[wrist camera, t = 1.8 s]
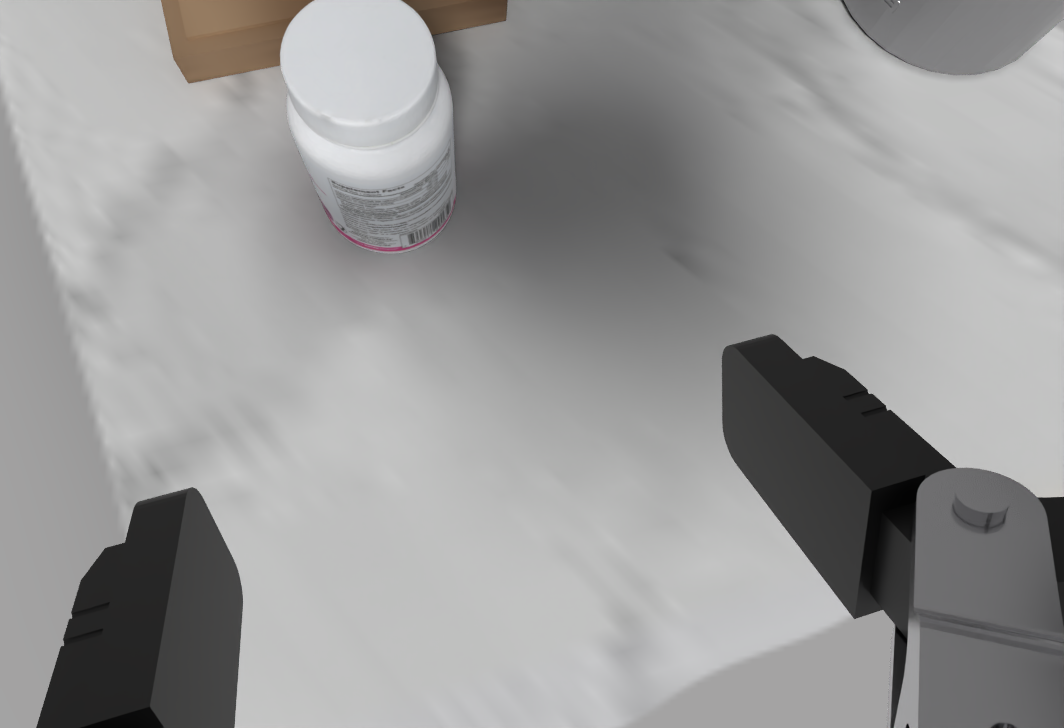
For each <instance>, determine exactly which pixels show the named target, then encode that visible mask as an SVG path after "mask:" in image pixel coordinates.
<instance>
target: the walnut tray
mask: <svg viewBox="0 0 1064 728" xmlns="http://www.w3.org/2000/svg"><path fill="white" fill-rule="evenodd" d="M312 1H314V0H161V2H162V7H163V12H164V16H165V21H166V26H167V30H168V35H169V40H170V44H171V49H172V54H173V58H174V60H175V62H176V63H177V65H178V67H179V68H180V70H181V72H182V74H183V75H184V77H185V79H186V80H187V82H188V83H193V82H198V81H203V80H208V79H213V78H218V77H223V76H228V75H233V74H239V73H244V72H249V71H254V70H259V69H264V68H269V67H274V66H279V65H280V49H281V43H282V40H283V37H284V34H285V32H286V29H287V27H288V26H289V24H290V22H291V21H292V20H293V18H294V17H295V16H296V15H297V14H298V13H299V12H300V11H301V10H302V9H303V8H304V7H305V6H307V5H308V4H309V3H311V2H312ZM402 1H403V2H405V3H406V4H407V5H409V6H410V7H411V8H413V9H414V10H415V11H416V12H417V13H418V14H419V16H420V17H421V18H422V19H423V21H424V22H425V24H426V25H427V27H428V29H429V31H430V33H431V35H435V34H440V33H445V32H450V31H455V30H460V29H465V28H470V27H476V26H481V25H486V24H491V23H496V22H501V21H506V13H507V0H402Z"/></svg>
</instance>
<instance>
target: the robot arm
mask: <svg viewBox="0 0 1064 728" xmlns="http://www.w3.org/2000/svg"><path fill="white" fill-rule="evenodd" d="M844 2H845V4H846V6H847V8H848V10H849V11H850V13H851V15H852V17H853V18H854V19H855V20H856V22H857V23H858V24H859V25H860V26H861V28H862V29H863V30H864V31H865V33H866V34H867V35H868V36H869V37H871V38H872V39H873V40H874V41H875V42H877V43H878V44H879V45H880V46H881V47H882V48H884V49H885V50H886V51H888V52H890V53H891V54H893V55H895V56H897V57H898V58H900V59H902V60H903V61H905V62H907V63H909V64H912V65H915V66H918V67H920V68H923V69H926V70H929V71H933V72H939V73H945V74H950V75H975V74H981V73H985V72H989V71H993V70H997V69H1000V68H1002V67H1004V66H1006V65H1008V64H1010V63H1012V62H1014V61H1016V60H1017V59H1018V58H1019V57H1021V56H1022V55H1023V54H1024V53H1025V52H1026V51H1028V50H1029V49H1030V48H1031V47H1032V46H1033V45H1034V44H1036V43H1037V42H1038V41H1039V40H1040V39H1041V38H1042V37H1044V36H1045V35H1046V34H1047V33H1048V32H1049V31H1050V30H1052V29H1053V28H1054V27H1055V26H1056V25H1057V24H1058V23H1059V22H1061V21H1062V20H1064V0H844ZM722 421H723V432H724V437H725V441H726V444H727V447H728V450H729V452H730V454H731V456H732V458H733V460H734V462H735V463H736V464H737V466H738V467H739V468H740V470H741V471H742V472H743V474H744V475H745V476H746V478H747V479H748V480H749V482H750V483H751V484H752V485H753V487H754V488H755V489H756V491H757V492H758V493H759V495H760V496H761V497H762V499H763V500H764V501H765V502H766V504H767V505H768V506H769V508H770V509H771V510H772V512H773V513H774V514H775V516H776V517H777V518H778V520H779V521H780V522H781V523H782V525H783V526H784V527H785V529H786V530H787V531H788V533H789V534H790V535H791V537H792V538H793V539H794V541H795V542H796V543H797V544H798V546H799V547H800V548H801V550H802V551H803V552H804V554H805V555H806V556H807V558H808V559H809V560H810V561H811V563H812V564H813V565H814V567H815V568H816V569H817V571H818V572H819V573H820V575H821V576H822V577H823V579H824V580H825V581H826V582H827V584H828V585H829V586H830V588H831V589H832V590H833V592H834V593H835V594H836V596H837V597H838V598H839V599H840V601H841V602H842V603H843V605H844V606H845V607H846V609H847V610H848V611H849V613H850V614H851V615H852V617H853V618H854V619H856V618H859V617H862V616H865V615H868V614H871V613H874V612H877V611H880V610H884V611H885V613H886V614H887V615H888V616H889V618H890V619H891V620H892V621H893V622H894V627H893V633H892V638H891V639H892V640H891V658H890V677H889V678H890V679H889V697H888V716H887V728H1064V497H1050V498H1037V497H1036V496H1035V495H1034V494H1033V493H1032V492H1031V491H1030V490H1028V489H1027V488H1026V487H1024V486H1023V485H1021V484H1020V483H1018V482H1016V481H1014V480H1012V479H1010V478H1008V477H1006V476H1003V475H1001V474H998V473H994V472H991V471H987V470H981V469H974V468H956V467H955V466H954V465H952V464H951V463H950V462H949V461H948V460H947V459H946V458H945V457H943V456H942V455H941V454H940V453H939V452H938V451H937V450H935V449H934V448H933V447H932V446H931V445H930V444H929V443H928V442H926V441H925V440H924V439H923V438H922V437H921V436H920V435H918V434H917V433H916V432H915V431H914V430H913V429H912V428H910V427H909V426H908V425H907V424H906V423H905V422H904V421H903V420H901V419H900V418H899V417H898V416H897V415H896V414H895V413H893V412H892V411H891V410H888V411H887V409H886V405H884V404H883V403H882V402H881V401H880V400H879V399H878V398H876V397H875V396H874V395H873V394H869V393H868V390H867V389H866V388H865V387H864V386H863V385H862V384H861V383H859V382H858V381H857V380H856V379H855V378H854V377H853V376H852V375H850V374H849V373H848V372H847V371H846V370H844V369H842V368H840V367H837V366H835V365H833V364H830V363H828V362H826V361H824V360H821V359H819V358H817V357H814V356H812V357H809V358H805V359H802V358H801V357H800V356H799V355H798V354H796V353H795V352H794V351H793V350H792V349H791V348H790V347H789V346H788V345H787V344H786V343H785V342H784V341H783V340H781V339H780V338H779V337H778V336H776V335H773V334H771V335H767V336H763V337H759V338H756V339H752V340H748V341H744V342H741V343H737V344H733V345H729V346H727V347H726V348H725V349H724V352H723V356H722ZM242 609H243V595H242V587H241V581H240V577H239V573H238V570H237V567H236V564H235V562H234V559H233V557H232V555H231V553H230V551H229V549H228V547H227V545H226V543H225V541H224V539H223V537H222V535H221V533H220V531H219V529H218V527H217V525H216V523H215V521H214V519H213V517H212V515H211V513H210V511H209V509H208V507H207V505H206V503H205V501H204V499H203V497H202V496H201V494H200V493H199V491H198V490H197V489H195V488H193V487H192V488H188V489H184V490H181V491H177V492H173V493H169V494H166V495H162V496H158V497H154V498H151V499H147V500H143V501H139V502H138V503H136V505H135V507H134V510H133V513H132V517H131V521H130V525H129V529H128V533H127V537H126V541H125V543H122V544H119V545H115V546H111V547H108V548H105V549H104V551H103V552H102V553H101V555H100V556H99V557H98V559H97V560H96V561H95V563H94V564H93V565H92V566H91V568H90V569H89V571H88V572H87V573H86V575H85V576H84V577H83V578H82V580H81V582H80V585H79V590H78V592H77V596H76V599H75V602H74V605H73V609H72V612H71V613H72V619H69V622H68V625H67V628H66V632H65V635H64V638H63V640H64V646H62V647H61V648H60V651H59V655H58V658H57V661H56V665H55V668H54V671H53V674H52V678H51V681H50V684H49V688H48V691H47V694H46V698H45V701H44V704H43V707H42V711H41V714H40V717H39V721H38V724H37V727H36V728H234V725H235V710H236V696H237V682H238V667H239V653H240V638H241V624H242Z"/></svg>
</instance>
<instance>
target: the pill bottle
mask: <svg viewBox="0 0 1064 728" xmlns="http://www.w3.org/2000/svg"><path fill="white" fill-rule="evenodd" d="M280 65H281V71H282V75H283V78H284V81H285V84H286V87H287V96H286V113H287V119H288V124H289V127H290V131H291V133H292V136H293V139H294V141H295V144H296V146H297V148H298V151H299V153H300V155H301V157H302V160H303V162H304V164H305V167H306V169H307V171H308V173H309V176H310V178H311V180H312V182H313V185H314V187H315V189H316V191H317V193H318V196H319V198H320V200H321V203H322V205H323V207H324V209H325V212H326V214H327V215H328V217H329V219H330V221H331V223H332V224H333V226H334V227H335V228H336V229H337V231H338V232H339V233H340V234H341V235H342V236H343V237H344V238H346V239H347V240H348V241H350V242H351V243H353V244H355V245H356V246H359V247H361V248H363V249H366V250H369V251H374V252H378V253H387V254H393V253H404V252H408V251H411V250H414V249H417V248H419V247H421V246H423V245H425V244H427V243H428V242H430V241H431V240H432V239H434V238H435V237H436V236H437V235H438V234H439V233H440V232H441V231H442V230H443V229H444V227H445V226H446V224H447V223H448V221H449V219H450V217H451V215H452V212H453V209H454V206H455V201H456V190H457V189H456V174H455V154H454V124H453V102H452V95H451V91H450V87H449V84H448V82H447V79H446V77H445V75H444V73H443V71H442V70H441V68H440V66H439V65H438V63H437V58H436V51H435V45H434V41H433V38H432V35H431V33H430V31H429V29H428V27H427V25H426V24H425V22H424V21H423V19H422V18H421V17H420V16H419V14H418V13H417V12H416V11H415V10H414V9H413V8H411V7H410V6H409V5H407V4H406V3H405V2H403V1H402V0H314V1H312V2H311V3H309V4H308V5H307V6H305V7H304V8H303V9H302V10H301V11H300V12H299V13H298V14H297V15H296V16H295V17H294V18H293V20H292V21H291V22H290V24H289V26H288V27H287V29H286V32H285V34H284V37H283V40H282V43H281V49H280Z"/></svg>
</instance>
